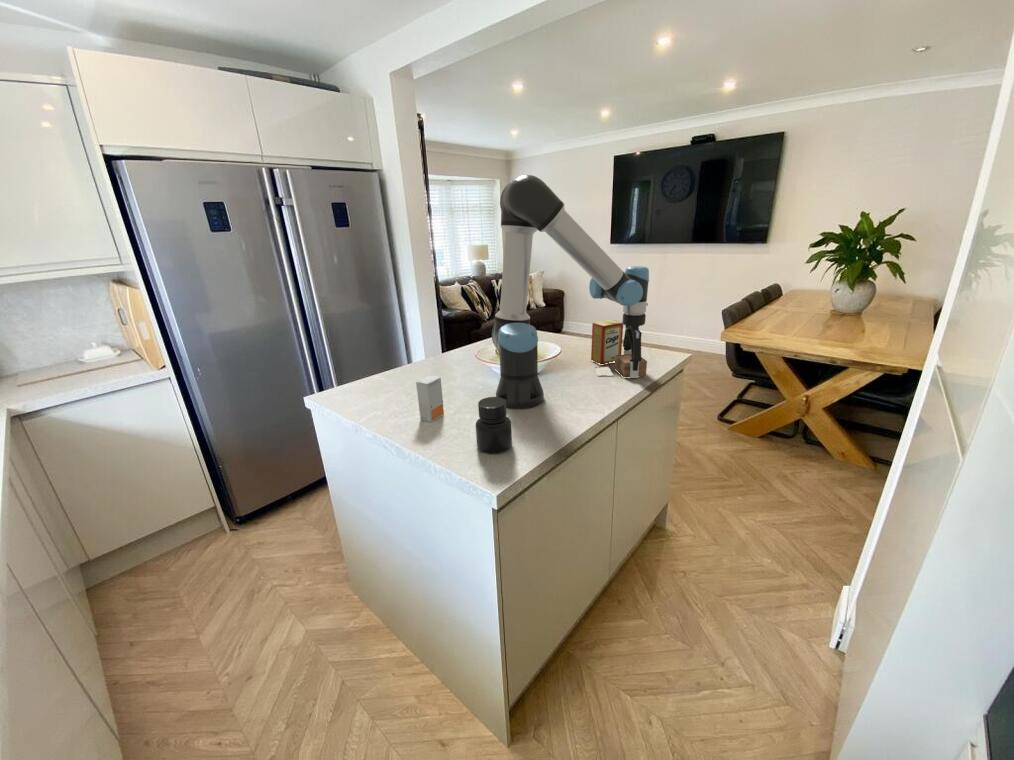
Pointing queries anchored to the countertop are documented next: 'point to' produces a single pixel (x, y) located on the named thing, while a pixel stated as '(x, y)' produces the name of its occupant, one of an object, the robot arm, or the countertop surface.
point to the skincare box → (430, 398)
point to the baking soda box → (606, 341)
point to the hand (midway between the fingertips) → (630, 372)
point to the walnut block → (624, 365)
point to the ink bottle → (493, 426)
